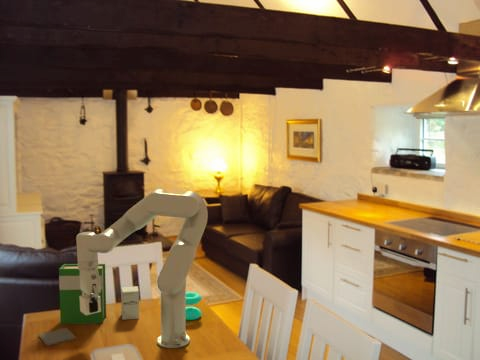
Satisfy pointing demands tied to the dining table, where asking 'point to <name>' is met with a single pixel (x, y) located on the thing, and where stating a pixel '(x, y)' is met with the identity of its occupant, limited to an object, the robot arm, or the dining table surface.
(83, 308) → the painted cube
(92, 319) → the hardback book
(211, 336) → the dining table surface
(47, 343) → the charcoal mat
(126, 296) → the supplement box
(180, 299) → the robot arm
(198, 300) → the donuts
